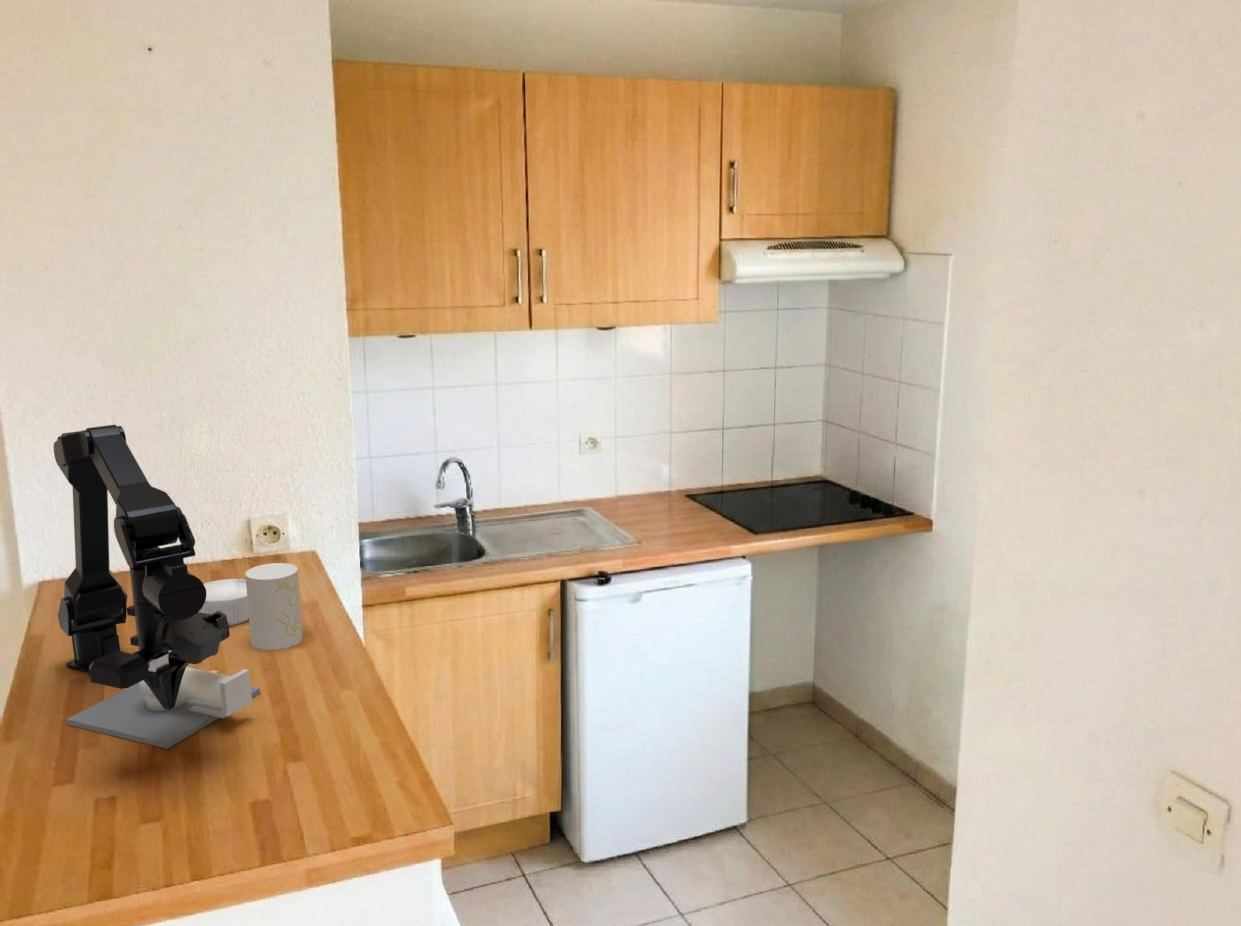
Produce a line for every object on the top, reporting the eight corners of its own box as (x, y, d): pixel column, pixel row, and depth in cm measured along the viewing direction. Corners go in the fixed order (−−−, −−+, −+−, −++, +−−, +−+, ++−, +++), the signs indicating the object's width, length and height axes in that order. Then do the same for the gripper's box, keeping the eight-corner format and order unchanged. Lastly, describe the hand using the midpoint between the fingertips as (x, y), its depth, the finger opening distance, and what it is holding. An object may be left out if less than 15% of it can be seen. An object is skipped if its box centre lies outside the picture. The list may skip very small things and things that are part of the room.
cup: (287, 651, 173) (282, 581, 170) (241, 647, 174) (235, 577, 172) (311, 632, 181) (306, 564, 178) (267, 629, 182) (261, 561, 179)
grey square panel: (67, 724, 149) (64, 703, 148) (175, 668, 166) (173, 649, 166) (177, 751, 141) (175, 728, 141) (278, 690, 159) (277, 669, 158)
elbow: (130, 698, 151) (126, 666, 150) (164, 680, 157) (161, 649, 156) (223, 719, 145) (220, 686, 144) (255, 699, 151) (253, 667, 150)
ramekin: (274, 613, 189) (272, 585, 188) (221, 634, 180) (218, 605, 179) (232, 601, 195) (230, 574, 194) (178, 621, 186) (175, 592, 185)
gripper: (148, 632, 127) (161, 752, 131) (256, 582, 144) (265, 690, 148) (79, 618, 132) (94, 735, 135) (192, 572, 148) (202, 676, 152)
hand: (169, 708), depth 142 cm, fingers closed
